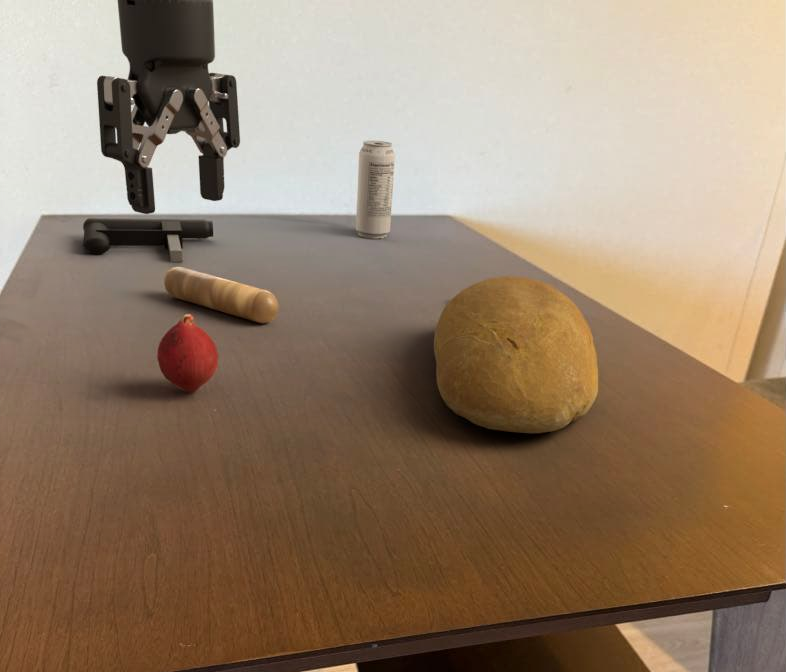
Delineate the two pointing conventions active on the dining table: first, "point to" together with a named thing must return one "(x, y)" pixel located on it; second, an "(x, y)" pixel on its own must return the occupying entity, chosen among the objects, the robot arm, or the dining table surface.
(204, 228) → the door handle
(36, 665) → the dining table surface
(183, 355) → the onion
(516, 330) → the bread
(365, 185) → the energy drink can
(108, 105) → the robot arm
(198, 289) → the tan rounded rod
